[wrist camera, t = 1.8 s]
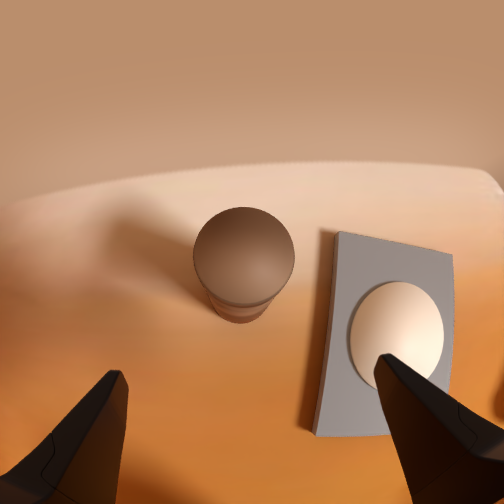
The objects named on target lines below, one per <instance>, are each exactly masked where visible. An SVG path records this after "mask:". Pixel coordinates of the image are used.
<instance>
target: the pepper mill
mask: <svg viewBox="0 0 504 504" xmlns="http://www.w3.org/2000/svg"><path fill="white" fill-rule="evenodd" d="M193 260H194V266H195V270H196V273H197V275H198V277H199V279H200V282H201V283H202V285H203V287H204V288H205V290H206V292H207V294H208V296H209V298H210V301H211V303H212V305H213V307H214V309H215V310H216V312H217V313H218V314H219V315H220V316H221V317H222V318H224V319H225V320H227V321H229V322H232V323H238V324H241V323H248V322H251V321H253V320H255V319H257V318H258V317H259V316H260V315H261V314H262V313H263V312H264V311H265V309H266V308H267V307H268V305H269V304H270V303H271V301H272V300H273V299H274V297H275V296H276V295H277V294H278V293H279V292H280V291H281V290H282V288H283V287H284V286H285V284H286V283H287V281H288V280H289V278H290V276H291V274H292V271H293V267H294V260H295V254H294V247H293V242H292V240H291V237H290V235H289V233H288V231H287V230H286V228H285V227H284V226H283V224H282V223H281V222H280V221H279V220H277V219H276V218H275V217H274V216H272V215H270V214H269V213H267V212H265V211H262V210H259V209H255V208H250V207H238V208H232V209H228V210H225V211H223V212H220V213H219V214H217V215H215V216H214V217H212V218H211V219H210V220H209V221H208V222H207V223H206V224H205V225H204V226H203V228H202V229H201V231H200V232H199V234H198V237H197V239H196V242H195V245H194V252H193Z"/></svg>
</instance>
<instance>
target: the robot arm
mask: <svg viewBox="0 0 504 504" xmlns="http://www.w3.org/2000/svg"><path fill="white" fill-rule="evenodd" d="M373 374H374V379H375V383H376V387H377V391H378V395H379V399H380V403H381V407H382V410H383V413H384V416H385V419H386V422H387V424H388V427H389V430H390V433H391V436H392V439H393V442H394V445H395V447H396V450H397V453H398V456H399V459H400V463H401V466H402V469H403V472H404V475H405V478H406V481H407V485H408V488H409V491H410V495H411V498H412V502H413V504H504V429H502V428H500V427H498V426H496V425H495V424H493V423H491V422H489V421H488V420H486V419H484V418H482V417H481V416H479V415H477V414H476V413H474V412H473V411H471V410H470V409H468V408H467V407H465V406H464V405H462V404H461V403H460V402H458V401H457V400H455V399H454V398H452V397H451V396H450V395H448V394H447V393H446V392H444V391H443V390H441V389H440V388H439V387H437V386H436V385H434V384H433V383H432V382H430V381H429V380H427V379H426V378H425V377H423V376H422V375H420V374H419V373H418V372H416V371H415V370H413V369H412V368H411V367H409V366H408V365H406V364H405V363H404V362H402V361H401V360H400V359H398V358H397V357H395V356H394V355H393V354H391V353H386V354H381V355H380V356H379V357H378V360H377V362H376V365H375V367H374V371H373ZM128 391H129V389H128V384H127V382H126V380H125V378H124V375H123V373H122V372H121V371H120V370H109V371H108V372H107V373H106V374H105V375H104V376H103V377H102V378H101V379H100V380H99V381H98V383H97V384H96V385H95V386H94V387H93V388H92V389H91V390H90V391H89V392H88V393H87V394H86V395H85V396H84V397H83V398H82V399H81V400H80V401H79V403H78V404H77V405H76V406H75V407H74V408H73V409H72V410H71V411H70V412H69V413H68V414H67V415H66V416H65V417H64V419H63V420H62V421H61V422H60V423H59V424H58V425H57V426H56V427H55V428H54V429H53V430H52V433H49V435H48V436H47V437H46V438H45V439H44V440H43V441H42V442H41V443H40V444H39V445H38V446H37V447H36V448H35V449H34V450H33V451H32V452H31V453H29V454H28V455H27V456H26V457H25V458H24V459H23V460H21V461H20V462H19V463H18V464H17V465H16V466H14V467H13V468H12V469H11V470H10V471H8V472H7V473H5V474H4V475H2V476H0V504H115V501H116V492H117V484H118V476H119V469H120V462H121V455H122V449H123V443H124V437H125V430H126V420H127V404H128Z"/></svg>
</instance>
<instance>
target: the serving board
mask: <svg viewBox="0 0 504 504" xmlns="http://www.w3.org/2000/svg"><path fill="white" fill-rule="evenodd" d="M453 338H454V272H453V256H452V254H447V253H443V252H439V251H434V250H430V249H425V248H420V247H416V246H411V245H406V244H402V243H397V242H392V241H387V240H382V239H377V238H372V237H367V236H362V235H357V234H352V233H346V232H341V231H339V232H338V233H337V234H336V235H335V238H334V256H333V271H332V284H331V295H330V306H329V316H328V326H327V335H326V343H325V351H324V359H323V366H322V373H321V380H320V387H319V393H318V399H317V405H316V411H315V417H314V422H313V428H312V433H313V434H314V435H315V436H321V437H349V436H374V435H389V434H391V433H390V430H389V427H388V424H387V422H386V419H385V416H384V413H383V410H382V407H381V403H380V399H379V395H378V391H377V387H376V383H375V379H374V374H373V371H374V367H375V365H376V362H377V360H378V357H379V356H380V355H381V354H386V353H391V354H393V355H394V356H395V357H397V358H398V359H400V360H401V361H402V362H404V363H405V364H406V365H408V366H409V367H411V368H412V369H413V370H415V371H416V372H418V373H419V374H420V375H422V376H423V377H425V378H426V379H427V380H429V381H430V382H432V383H433V384H434V385H436V386H437V387H439V388H440V389H441V390H443V391H444V392H446V393H447V394H448V391H449V383H450V375H451V365H452V354H453Z"/></svg>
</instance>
